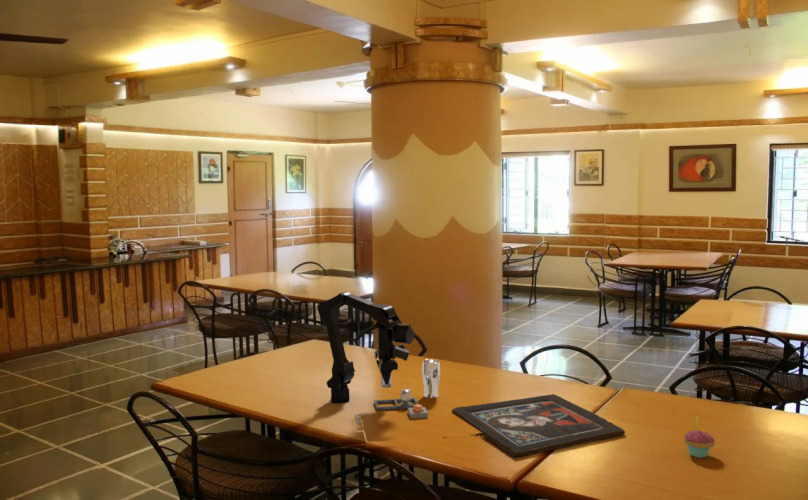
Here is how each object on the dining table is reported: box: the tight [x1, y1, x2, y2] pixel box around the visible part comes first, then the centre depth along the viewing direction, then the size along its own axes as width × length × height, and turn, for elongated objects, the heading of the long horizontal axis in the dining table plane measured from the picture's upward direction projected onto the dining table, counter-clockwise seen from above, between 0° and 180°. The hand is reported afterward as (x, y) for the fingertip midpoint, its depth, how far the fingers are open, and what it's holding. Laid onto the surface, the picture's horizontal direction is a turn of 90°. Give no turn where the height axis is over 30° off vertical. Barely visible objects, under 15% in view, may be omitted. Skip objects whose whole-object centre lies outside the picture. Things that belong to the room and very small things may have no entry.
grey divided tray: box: [373, 397, 419, 412], centre depth 233 cm, size 15×8×3 cm, turn 99°
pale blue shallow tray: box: [354, 413, 364, 425], centre depth 222 cm, size 11×9×1 cm
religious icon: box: [451, 393, 626, 458], centre depth 217 cm, size 40×45×3 cm
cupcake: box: [683, 413, 716, 459], centre depth 191 cm, size 9×8×12 cm
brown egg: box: [413, 403, 423, 412], centre depth 223 cm, size 3×3×4 cm
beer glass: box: [421, 358, 441, 399], centre depth 244 cm, size 7×7×15 cm
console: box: [407, 406, 429, 420], centre depth 223 cm, size 6×6×3 cm
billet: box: [380, 372, 393, 389], centre depth 232 cm, size 4×4×6 cm
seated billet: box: [400, 388, 412, 405], centre depth 233 cm, size 4×4×6 cm
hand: (385, 382), depth 232 cm, fingers closed on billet, 4 cm apart
